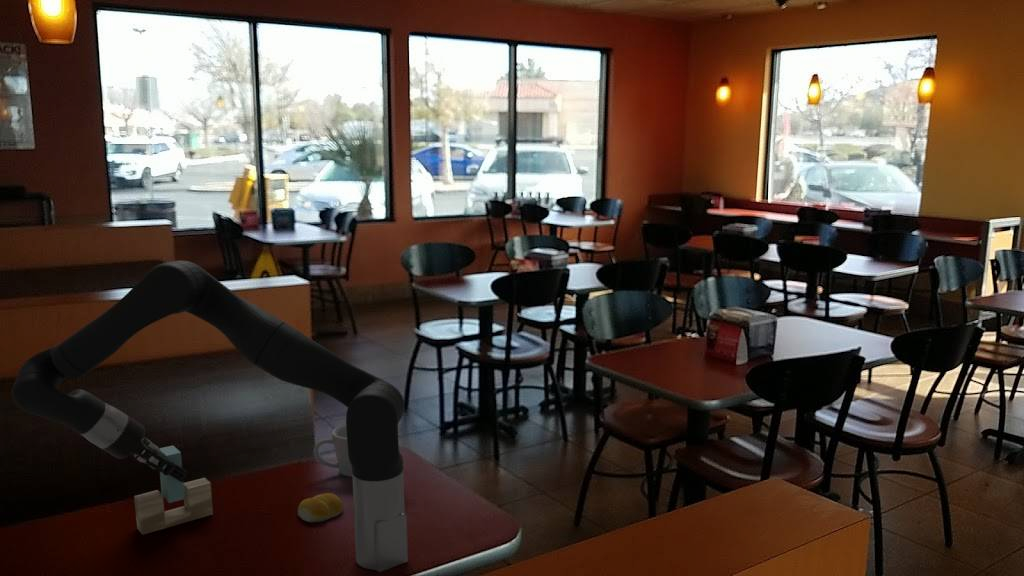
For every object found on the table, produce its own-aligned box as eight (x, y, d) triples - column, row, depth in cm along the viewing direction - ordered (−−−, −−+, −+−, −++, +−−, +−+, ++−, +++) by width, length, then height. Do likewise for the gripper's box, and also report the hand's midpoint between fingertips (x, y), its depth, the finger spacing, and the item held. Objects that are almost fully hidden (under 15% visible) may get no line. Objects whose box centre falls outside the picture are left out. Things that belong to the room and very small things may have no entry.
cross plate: (184, 499, 165) (180, 452, 163) (169, 503, 163) (165, 456, 161) (176, 490, 169) (173, 445, 167) (161, 494, 167) (157, 448, 165)
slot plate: (212, 514, 170) (210, 482, 169) (142, 534, 161) (139, 502, 160) (207, 508, 173) (204, 477, 171) (137, 528, 164) (134, 496, 163)
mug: (382, 475, 189) (381, 434, 187) (317, 485, 184) (315, 444, 182) (373, 459, 199) (371, 420, 197) (311, 468, 193) (309, 428, 191)
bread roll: (350, 512, 171) (349, 494, 170) (313, 527, 165) (312, 509, 164) (327, 500, 177) (326, 483, 176) (291, 514, 170) (290, 496, 169)
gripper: (136, 424, 152) (205, 468, 162) (116, 405, 163) (182, 447, 173) (108, 458, 150) (179, 500, 160) (89, 436, 161) (158, 477, 171)
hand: (180, 473), depth 166 cm, fingers closed on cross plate, 5 cm apart
